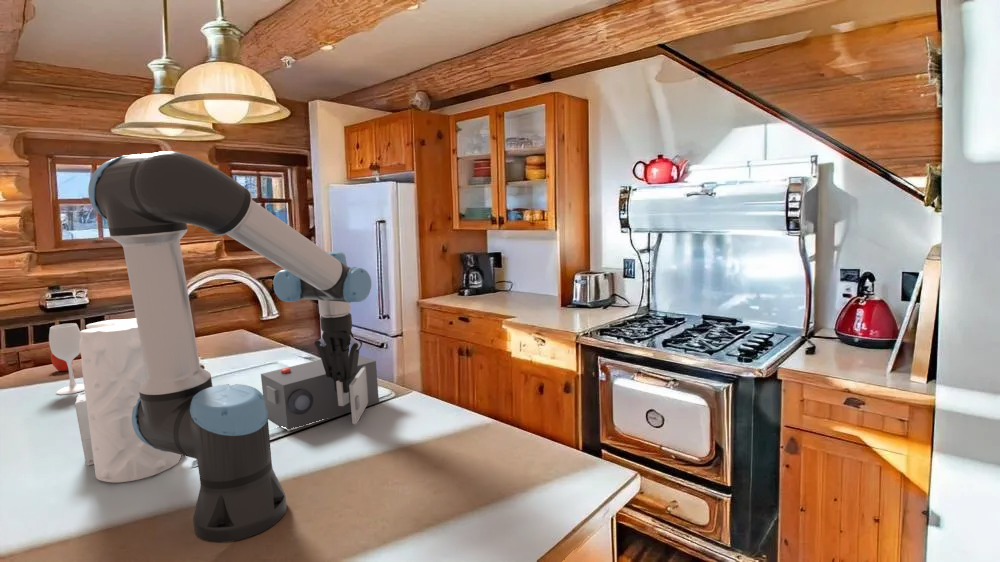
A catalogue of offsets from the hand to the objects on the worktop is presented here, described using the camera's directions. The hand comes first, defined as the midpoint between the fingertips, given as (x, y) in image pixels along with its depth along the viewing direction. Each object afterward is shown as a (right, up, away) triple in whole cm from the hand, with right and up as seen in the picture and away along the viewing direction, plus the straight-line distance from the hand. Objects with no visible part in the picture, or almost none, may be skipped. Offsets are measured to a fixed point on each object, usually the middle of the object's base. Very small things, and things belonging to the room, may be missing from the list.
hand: (344, 403), depth 142 cm
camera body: (-8, -4, +8) cm, 12 cm away
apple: (-116, -1, +57) cm, 130 cm away
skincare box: (-51, -9, -15) cm, 54 cm away
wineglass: (-95, -3, +34) cm, 101 cm away
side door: (+4, -3, +2) cm, 5 cm away
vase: (-39, -9, -21) cm, 45 cm away
